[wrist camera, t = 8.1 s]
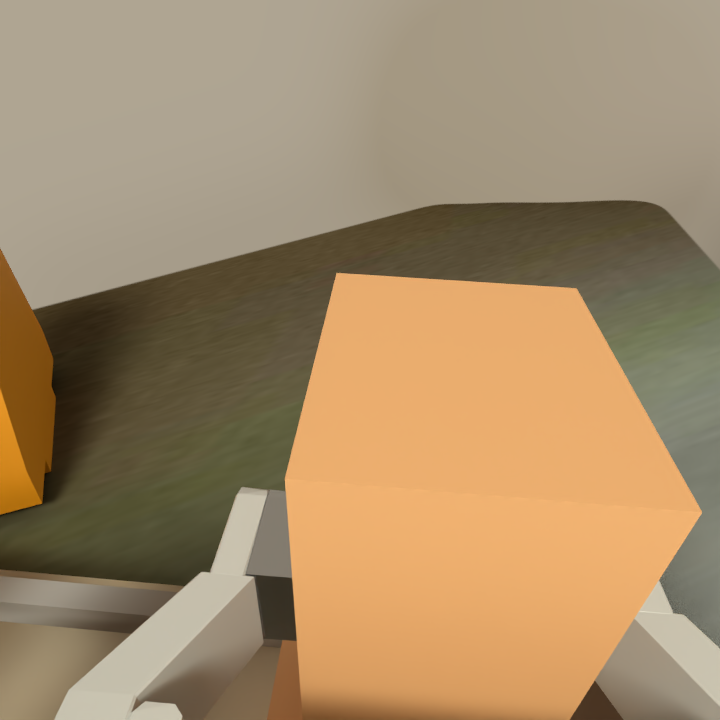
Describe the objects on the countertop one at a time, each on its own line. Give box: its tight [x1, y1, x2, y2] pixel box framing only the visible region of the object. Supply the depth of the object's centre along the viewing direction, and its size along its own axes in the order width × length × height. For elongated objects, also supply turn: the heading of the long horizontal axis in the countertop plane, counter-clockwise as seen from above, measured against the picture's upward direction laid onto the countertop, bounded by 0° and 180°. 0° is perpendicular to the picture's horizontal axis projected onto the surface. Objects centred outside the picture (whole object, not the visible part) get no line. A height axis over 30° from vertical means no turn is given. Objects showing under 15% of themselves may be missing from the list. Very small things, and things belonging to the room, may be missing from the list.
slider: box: [267, 273, 702, 720], centre depth 10 cm, size 6×5×13 cm
